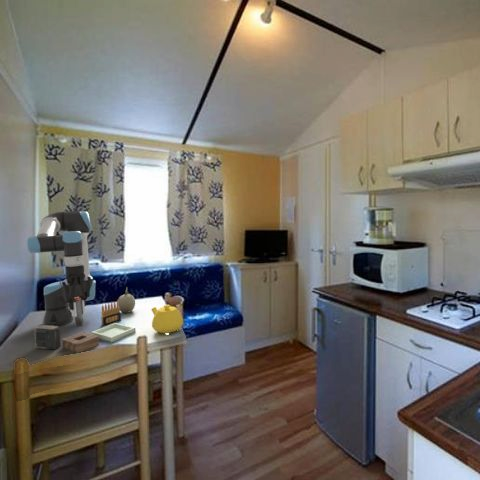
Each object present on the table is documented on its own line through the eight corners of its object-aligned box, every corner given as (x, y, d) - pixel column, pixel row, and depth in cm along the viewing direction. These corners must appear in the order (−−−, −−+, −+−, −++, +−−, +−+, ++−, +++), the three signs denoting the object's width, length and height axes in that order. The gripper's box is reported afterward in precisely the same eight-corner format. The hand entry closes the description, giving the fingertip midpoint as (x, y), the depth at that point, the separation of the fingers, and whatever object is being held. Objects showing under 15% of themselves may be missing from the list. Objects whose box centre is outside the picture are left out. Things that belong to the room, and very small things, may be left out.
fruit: (126, 316, 175) (124, 292, 174) (114, 313, 181) (112, 290, 180) (140, 311, 184) (138, 288, 183) (128, 308, 190) (127, 286, 189)
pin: (74, 325, 134) (71, 298, 132) (80, 323, 136) (78, 296, 135) (78, 327, 132) (75, 299, 131) (84, 324, 135) (82, 297, 134)
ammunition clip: (103, 326, 159) (101, 305, 158) (101, 325, 160) (100, 304, 159) (121, 320, 168) (119, 300, 167) (119, 320, 169) (118, 300, 168)
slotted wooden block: (63, 347, 133) (62, 339, 133) (83, 339, 142) (83, 331, 142) (77, 353, 127) (77, 344, 127) (98, 344, 136) (98, 336, 136)
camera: (63, 345, 136) (61, 325, 135) (52, 351, 130) (50, 330, 129) (44, 344, 139) (42, 323, 138) (32, 349, 133) (30, 328, 132)
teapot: (141, 331, 150) (139, 305, 149) (165, 322, 163) (164, 298, 162) (165, 339, 138) (163, 312, 137) (189, 329, 151) (188, 303, 150)
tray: (91, 336, 145) (91, 331, 145) (115, 327, 157) (115, 322, 157) (111, 342, 137) (111, 337, 137) (135, 332, 149) (135, 327, 149)
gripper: (60, 268, 123) (65, 321, 125) (96, 262, 137) (99, 310, 139) (51, 267, 127) (55, 319, 129) (86, 261, 141) (90, 308, 143)
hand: (78, 314), depth 134 cm, fingers closed on pin, 3 cm apart
